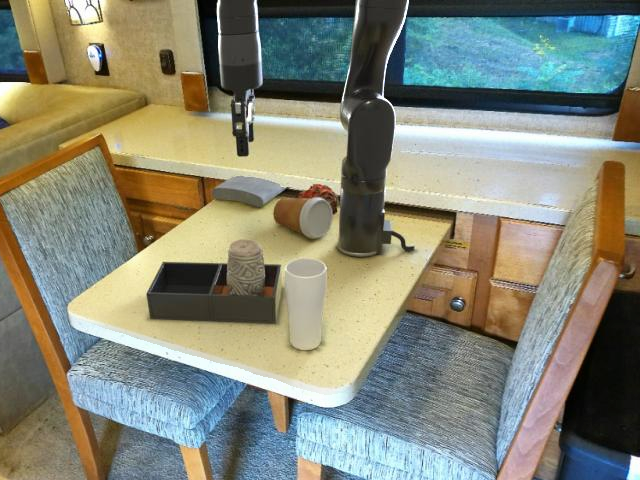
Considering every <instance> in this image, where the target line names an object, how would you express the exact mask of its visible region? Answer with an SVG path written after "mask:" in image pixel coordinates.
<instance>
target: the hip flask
mask: <svg viewBox="0 0 640 480" xmlns="http://www.w3.org/2000/svg"><path fill="white" fill-rule="evenodd" d="M287 189H288V188H282V187H281V186H280V184H278V183H275V182H272V181H269V180H265V179H261V178H255V177H244V176H236V177H233V176H231V177H230V178H228V179H226V180H225V181H223V182H222V183H220V184H218V185H217V186H215V187H214V188H212V190H211V196H212V197H213V198H214V199H215V200H227V201H234V202H240V203H244V204H247V205H251V206H253V207H256V208H262V207H263V206H265V205H266V204H268V203H269V202H271V201H272V200H273V199H275V198H276V197H277V196H279V195H280V194H281V193H283V192H284V191H285V190H287Z"/></svg>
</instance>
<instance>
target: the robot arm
mask: <svg viewBox="0 0 640 480" xmlns="http://www.w3.org/2000/svg"><path fill="white" fill-rule="evenodd" d="M409 1H410V0H355V4H354V5H355V6H354V17H353V27H352V35H351V44H350V45H351V47H350V59H349V65H348V71H347V77H346V80H345V84H344V88H343V92H342V97H341V101H340V102H341V103H340V107H339V120H340V124H341V126H342V128H343V129H344V131H345V132H346V133H347V144H346V155H345V156H344V157H343V159H342V160H341V164H340V165H341V167H340V168H341V169H340V192H339V193H340V196H339V203H340V205H339V218H338V219H339V222H338V242H337V248H338V250H339V252H341V253H342V254H344V255H346V256H350V257H357V258H365V257H372V256H375V255H381V254H382V253H383V245H391V244H392V237H394V238H396V239H398V240H399V241H400V247H401V249H402V250H404V251H406V252H412V251H413V252H414V251H415V245H411V246H409V245H406V244H407V243H406V239H405V237H404V236H403V235H402V234H401V233H399V232H397V231H394V230H393V229H392V222H391V220H390V219H385V216H386V215H385V213H386V212H385V201H386V200H385V199H386V188H387V176H388V167H389V165H390V163H391V161H392V157H393V149H394V141H395V135H396V134H395V132H396V111H395V108H394V106H393V105H392V103H391V102H390V101H389V100H388V99H386V98H385V97H384V87H385V78H386V72H387V71H386V70H387V64H388V61H389V58H390V55H391V53H392V51H393V48H394V46H395V44H396V43H397V42H396V41H397V39H398V38H399V36H400V34H401V30H402V29H403V25H404V24H405V20H406V16H407V12H408V7H409ZM216 17H217V18H216V19H217V31H218V41H217V42H218V45H217V47H218V62H219V74H220V86H221V88H222V90H223V89H224V90H226V91H231V92H233V95H232V99H231V100H230V105H229V107H230V109H231V110H230V111H231V128H232V131H231V132H232V133H231V135H232V137H234V138H235V146H236V155H237V157H239V158H245V157H249V155H250V143H253V142H254V140H255V131H254V129H255V128H254V121H255V115H256V105H255V104H256V102H255V101H256V97H255V92H254V90H256V89H259V88H260V87H262V86H263V83H264V82H263V62H262V61H263V60H262V59H263V58H262V43H261V38H260V28H259V27H260V26H259V25H260V23H259V8H258V0H217V2H216ZM239 126H241V128H239Z"/></svg>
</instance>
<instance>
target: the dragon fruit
mask: <svg viewBox="0 0 640 480" xmlns="http://www.w3.org/2000/svg"><path fill="white" fill-rule="evenodd" d="M314 197H322V198H323V199H325V200H326V201H327V202H328V203H329V204H330V205H331V208H332V212H333V216H334V215H336V214H337V213H338V212H339V211H338V206H340V199H339V196H338V194H337V193H335V191H333V189H332V188H331V187H329V186H328V185H326V184H321V183H313V184H312V185H310V186H309V188H308V189H305V190H302V191H301V192H298V193H297V194H296V199H302V198H303V199H304V198H305V199H306V198H307V199H308V198H314Z"/></svg>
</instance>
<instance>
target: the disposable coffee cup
mask: <svg viewBox="0 0 640 480" xmlns="http://www.w3.org/2000/svg"><path fill="white" fill-rule="evenodd" d="M272 214H273V220H274V221H275V223H276V224H277V225H279V226H282V227H284V228H287V229H290V230H292V231H295V232H297V233H300V234H302V235H304V236H305V237H307V238H308V239H311V240H315V239H319V238H321V237H324V236H325V235H326V234H327V233H328V232H329V230H330V228H331V226H332V223H333V218H334V215H333V212H332V208H331V205H330V204H329V203H328V202H327V201H326V200H325V199H323V198H322V197H314V198H308V199H307V198H306V199H305V198H304V199H303V198H302V199H297V198H281V199H279V200H277V202H276V203H275V205H274V207H273V211H272Z"/></svg>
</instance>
